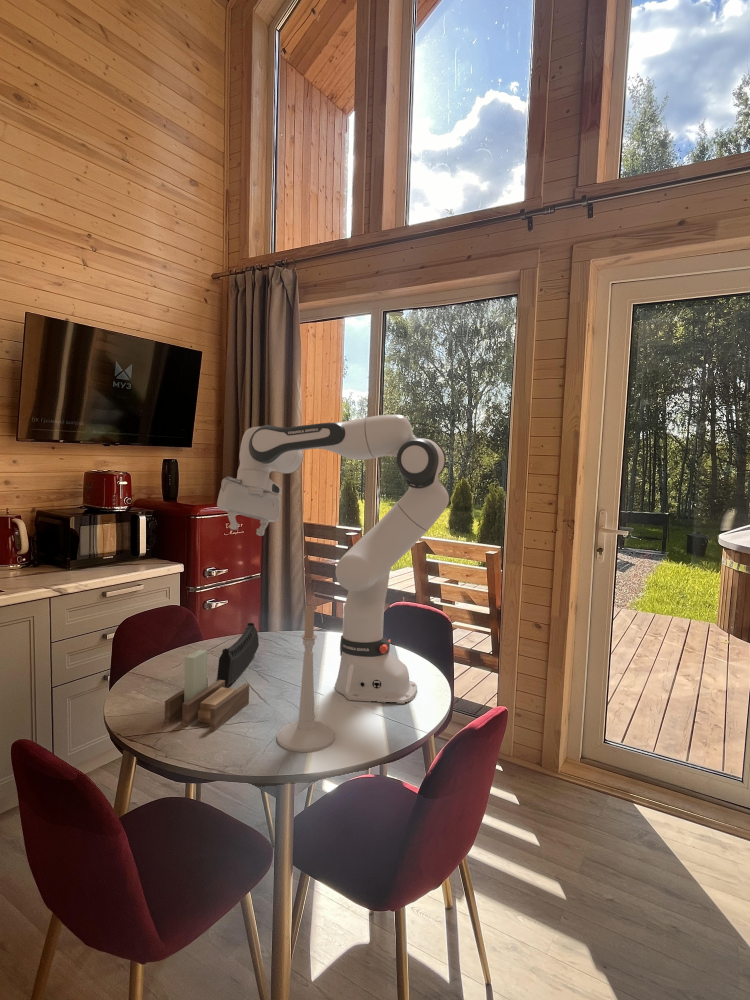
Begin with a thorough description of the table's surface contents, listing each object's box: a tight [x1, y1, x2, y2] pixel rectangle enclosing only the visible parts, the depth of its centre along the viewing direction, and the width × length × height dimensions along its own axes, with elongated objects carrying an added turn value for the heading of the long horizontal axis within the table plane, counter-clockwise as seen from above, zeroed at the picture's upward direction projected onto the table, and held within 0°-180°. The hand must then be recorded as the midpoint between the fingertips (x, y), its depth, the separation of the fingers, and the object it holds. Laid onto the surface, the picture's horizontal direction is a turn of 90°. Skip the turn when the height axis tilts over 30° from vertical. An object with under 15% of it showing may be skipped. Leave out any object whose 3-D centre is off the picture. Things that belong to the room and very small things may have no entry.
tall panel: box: [183, 649, 209, 703], centre depth 139 cm, size 2×6×14 cm, turn 165°
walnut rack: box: [164, 677, 250, 732], centre depth 138 cm, size 13×16×5 cm
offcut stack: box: [198, 687, 237, 724], centre depth 138 cm, size 4×11×4 cm, turn 167°
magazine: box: [216, 622, 260, 688], centre depth 166 cm, size 17×3×30 cm
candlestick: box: [276, 605, 336, 753], centre depth 127 cm, size 13×13×30 cm
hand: (247, 532), depth 158 cm, fingers open, 8 cm apart
